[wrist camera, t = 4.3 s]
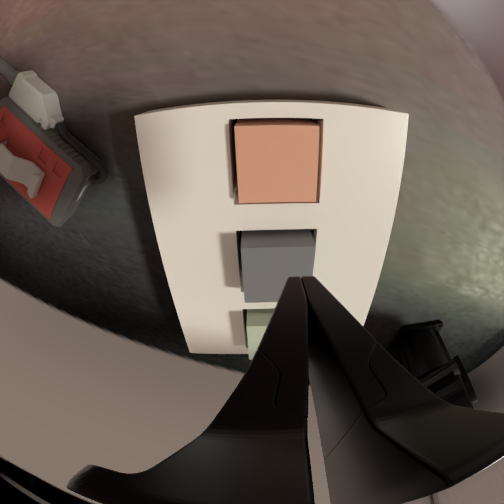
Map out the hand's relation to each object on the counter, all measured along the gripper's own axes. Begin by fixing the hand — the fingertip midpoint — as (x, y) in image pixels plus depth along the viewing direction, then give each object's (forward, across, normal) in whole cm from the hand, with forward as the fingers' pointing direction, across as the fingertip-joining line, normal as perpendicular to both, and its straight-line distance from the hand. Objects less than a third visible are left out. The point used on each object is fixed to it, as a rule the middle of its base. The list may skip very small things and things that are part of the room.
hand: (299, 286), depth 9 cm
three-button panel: (+12, 0, +5) cm, 13 cm away
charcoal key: (+12, 0, +5) cm, 13 cm away
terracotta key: (+13, 0, -2) cm, 13 cm away
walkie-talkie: (+12, +20, -7) cm, 25 cm away
